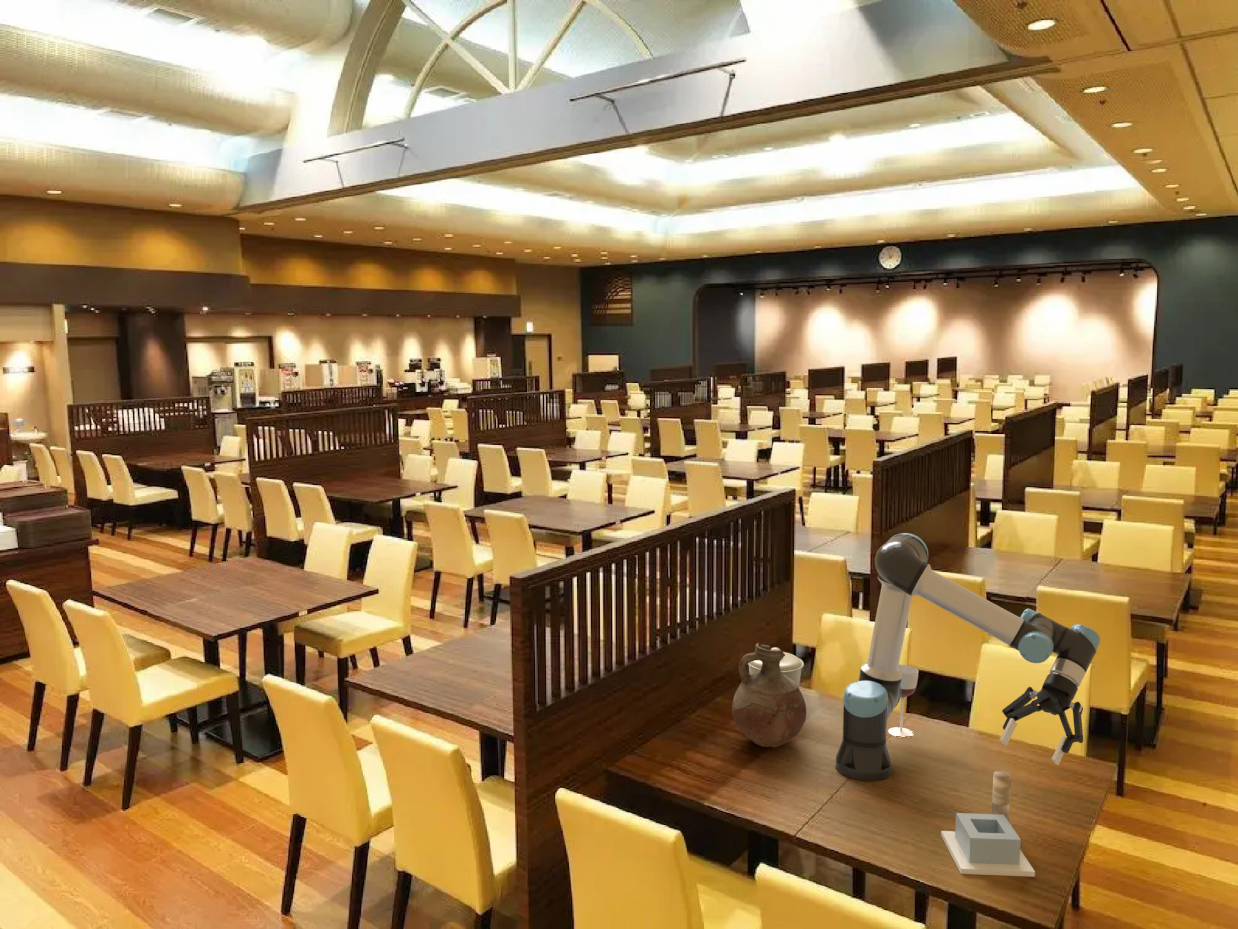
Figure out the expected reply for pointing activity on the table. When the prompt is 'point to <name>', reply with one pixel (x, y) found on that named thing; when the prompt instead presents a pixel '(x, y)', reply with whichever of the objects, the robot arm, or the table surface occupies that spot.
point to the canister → (782, 666)
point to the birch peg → (1001, 793)
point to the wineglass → (906, 690)
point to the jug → (768, 701)
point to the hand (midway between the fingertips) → (1028, 752)
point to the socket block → (986, 846)
